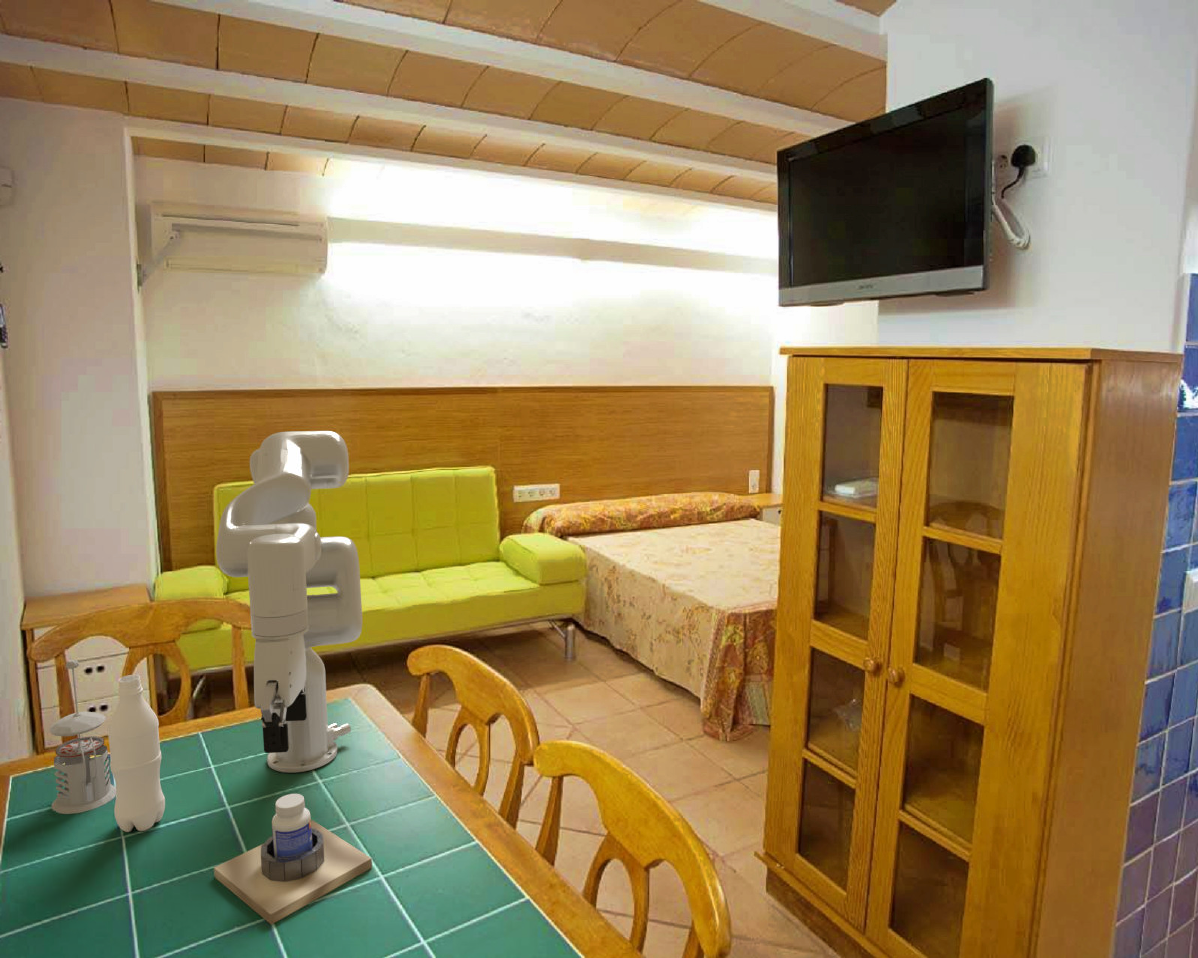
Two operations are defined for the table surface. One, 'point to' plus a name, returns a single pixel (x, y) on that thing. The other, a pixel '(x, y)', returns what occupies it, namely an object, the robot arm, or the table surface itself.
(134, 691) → the water bottle
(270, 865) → the collar
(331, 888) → the stand plate
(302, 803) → the pill bottle
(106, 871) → the table surface
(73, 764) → the french press
